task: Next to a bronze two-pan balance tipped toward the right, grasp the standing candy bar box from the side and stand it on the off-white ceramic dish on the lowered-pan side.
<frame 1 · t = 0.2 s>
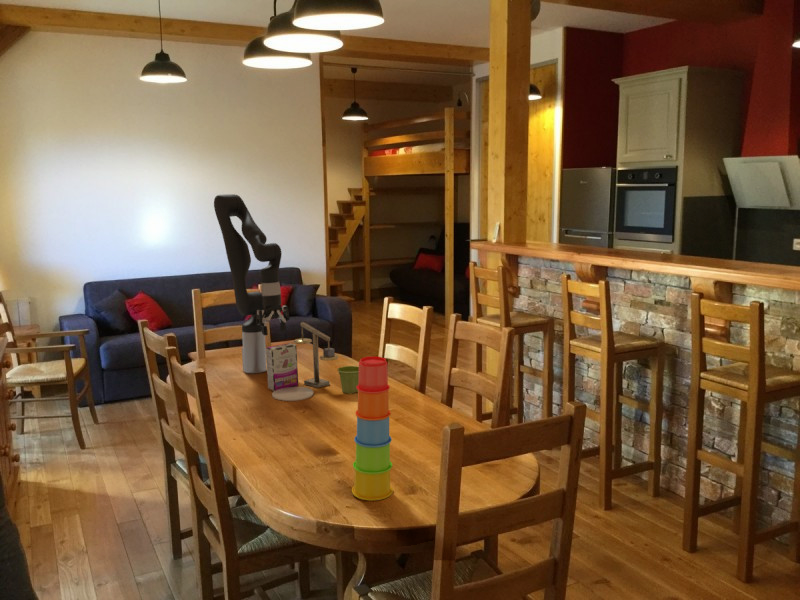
hand: (274, 333, 290), 18 cm above the table, tool pointing down, fingers open, 8 cm apart
candy bar box: (283, 387, 277), on the table
stacking cups: (372, 493, 181), on the table
plant pot: (350, 392, 270), on the table
balance: (316, 384, 280), on the table
dish: (292, 394, 266), on the table
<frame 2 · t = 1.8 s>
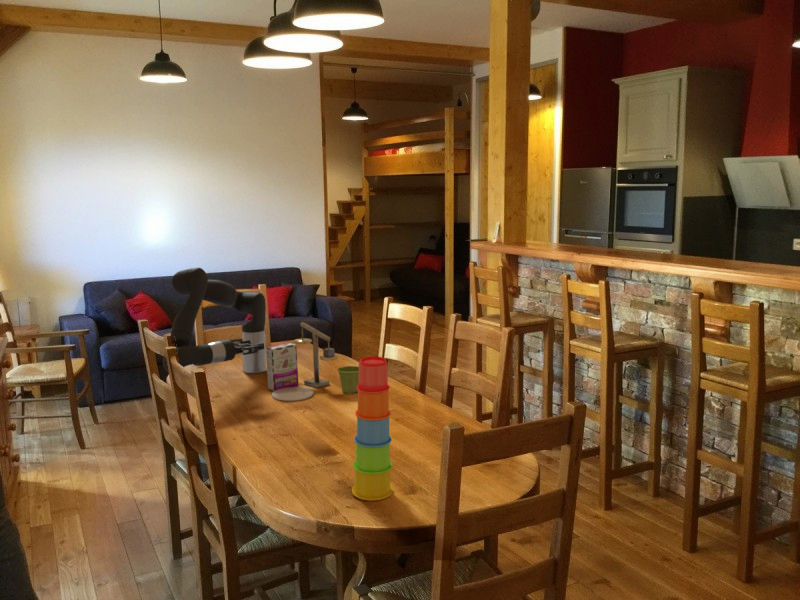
hand: (256, 344, 265), 19 cm above the table, tool horizontal, fingers open, 8 cm apart
nothing on the table moved.
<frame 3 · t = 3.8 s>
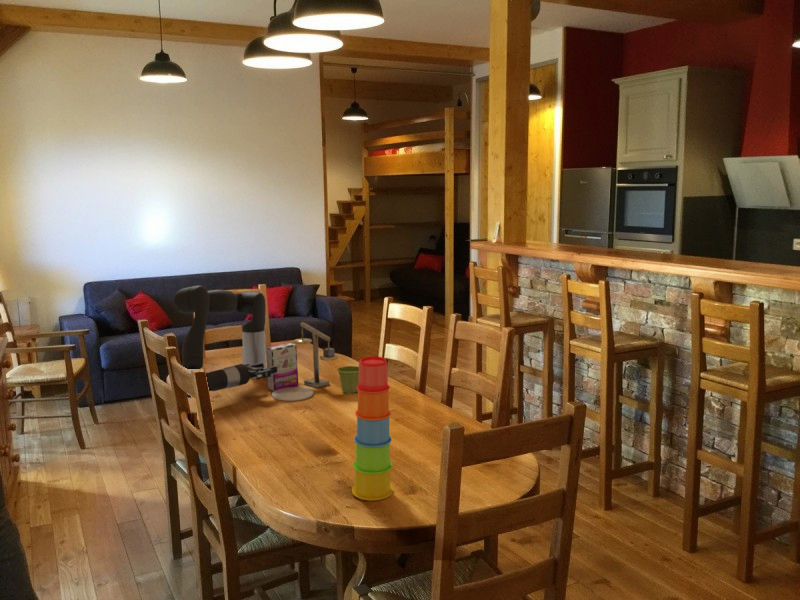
hand: (269, 367, 271), 9 cm above the table, tool horizontal, fingers open, 8 cm apart
nothing on the table moved.
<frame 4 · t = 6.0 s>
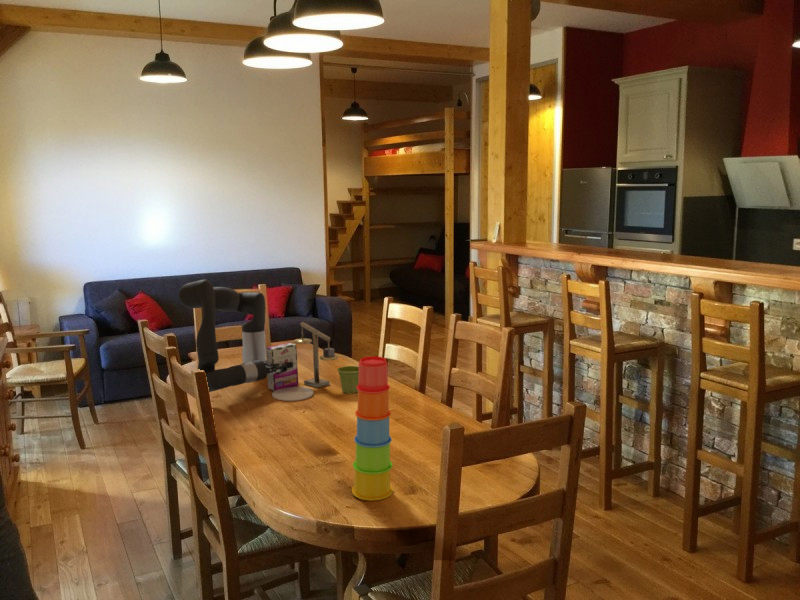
hand: (287, 363, 277), 9 cm above the table, tool horizontal, fingers closed on candy bar box, 5 cm apart
candy bar box: (283, 387, 277), on the table, touching gripper
everything else where it was.
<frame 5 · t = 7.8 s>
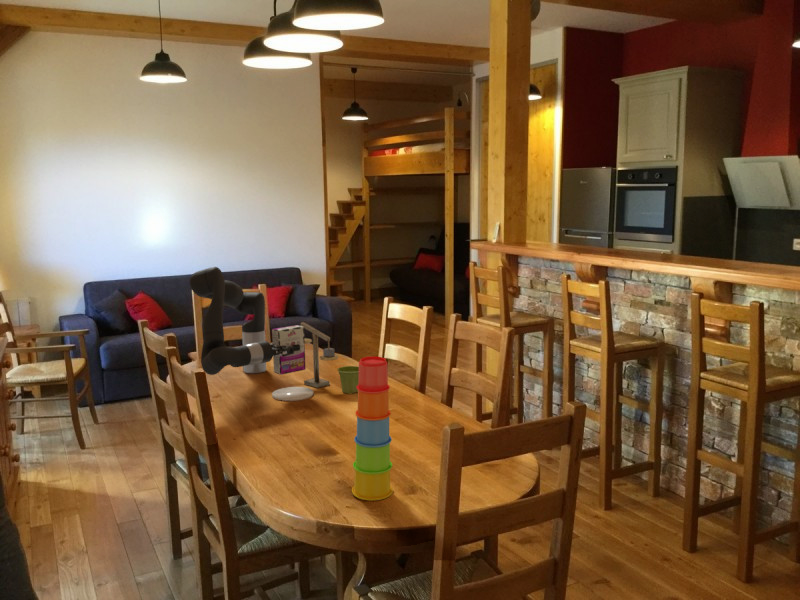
hand: (294, 346, 266), 18 cm above the table, tool horizontal, fingers closed on candy bar box, 5 cm apart
candy bar box: (289, 371, 265), point 9 cm above the table, touching gripper
everything else where it was.
when the fingers open (11 cm above the table, at t = 9.9 s): candy bar box stays where it is, resting on dish.
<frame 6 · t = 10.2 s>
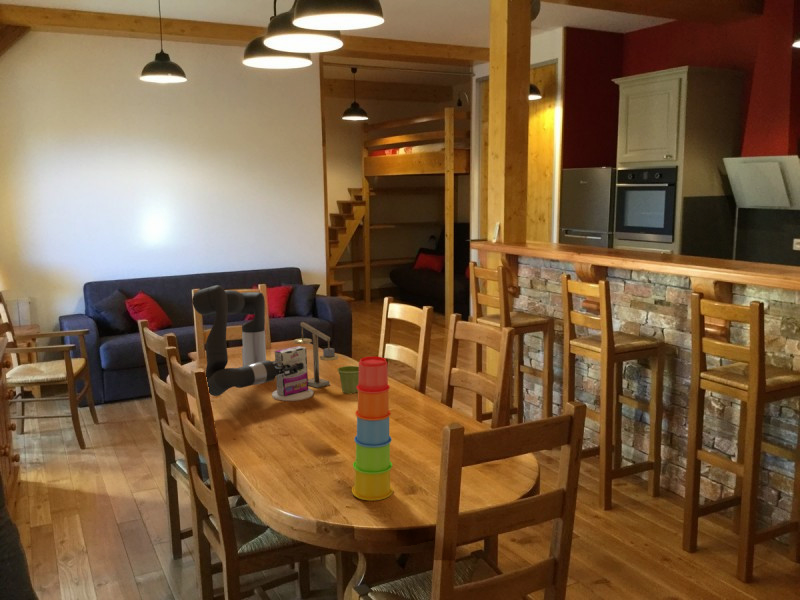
hand: (296, 364, 266), 11 cm above the table, tool horizontal, fingers open, 7 cm apart
candy bar box: (292, 392, 266), point 1 cm above the table, touching dish
everything else where it was.
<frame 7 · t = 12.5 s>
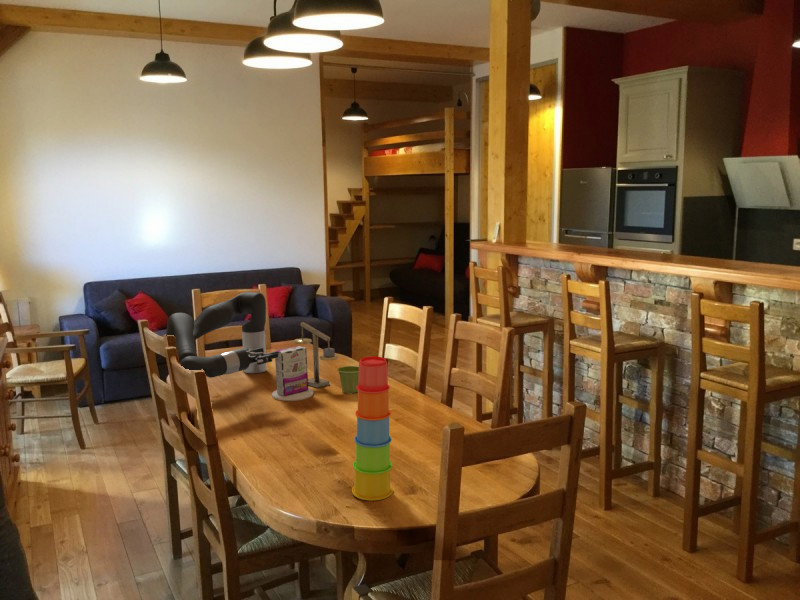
hand: (270, 352, 258), 18 cm above the table, tool horizontal, fingers open, 8 cm apart
nothing on the table moved.
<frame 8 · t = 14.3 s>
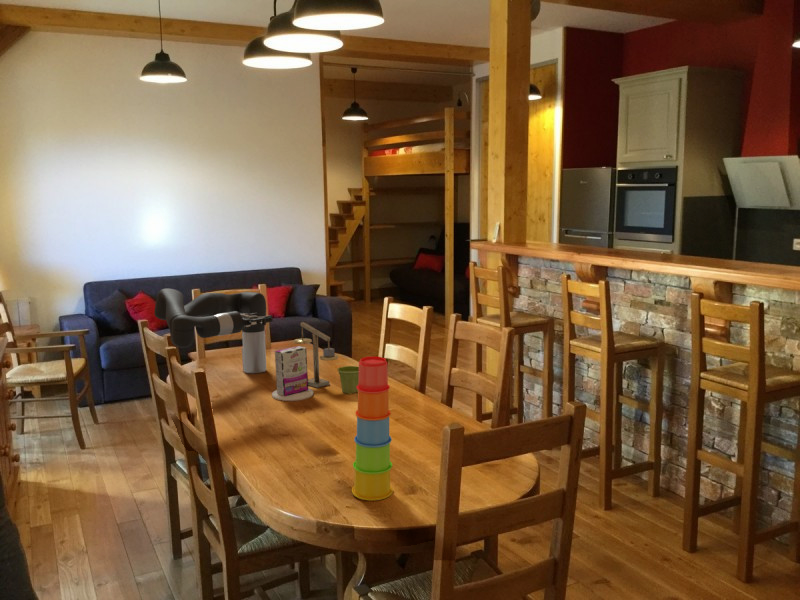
hand: (264, 317, 258), 30 cm above the table, tool horizontal, fingers open, 8 cm apart
nothing on the table moved.
at the end: candy bar box inside the target area on the dish (0.1 cm from its centre), point 0.8 cm above the dish's base; candy bar box tilted 0°; the gripper is holding nothing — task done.
